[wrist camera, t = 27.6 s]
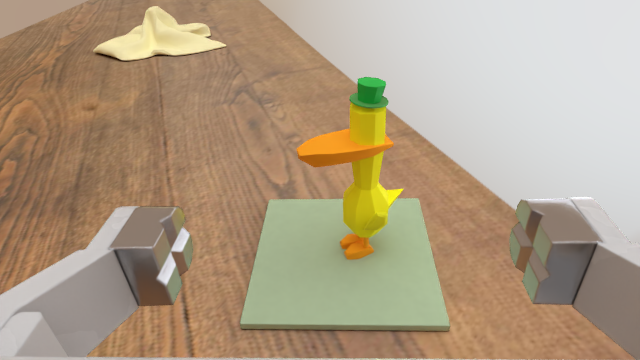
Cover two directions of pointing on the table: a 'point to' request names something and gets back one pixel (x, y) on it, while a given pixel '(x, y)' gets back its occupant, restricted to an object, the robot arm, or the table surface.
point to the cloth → (159, 38)
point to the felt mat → (342, 272)
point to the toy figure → (359, 165)
